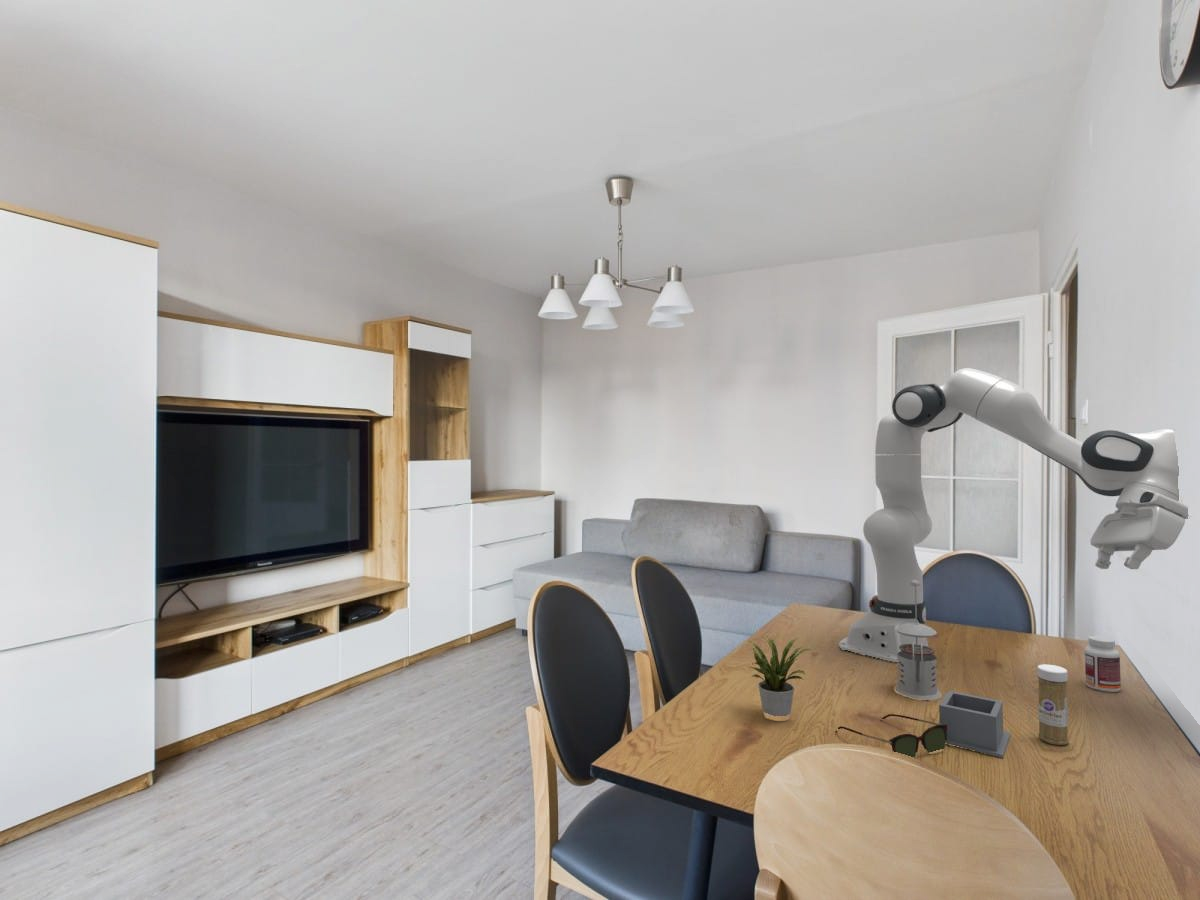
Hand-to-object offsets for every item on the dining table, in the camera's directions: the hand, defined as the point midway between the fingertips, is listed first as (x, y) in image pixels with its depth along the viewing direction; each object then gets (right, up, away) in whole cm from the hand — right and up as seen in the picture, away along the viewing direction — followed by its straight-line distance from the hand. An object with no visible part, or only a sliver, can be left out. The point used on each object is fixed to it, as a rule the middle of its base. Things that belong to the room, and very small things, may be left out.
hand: (1115, 567), depth 124 cm
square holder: (-32, -31, -6) cm, 45 cm away
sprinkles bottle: (-18, -31, -8) cm, 36 cm away
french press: (-31, -31, +16) cm, 47 cm away
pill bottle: (+12, -30, +18) cm, 37 cm away
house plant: (-64, -32, +5) cm, 71 cm away
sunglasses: (-48, -32, -6) cm, 58 cm away
